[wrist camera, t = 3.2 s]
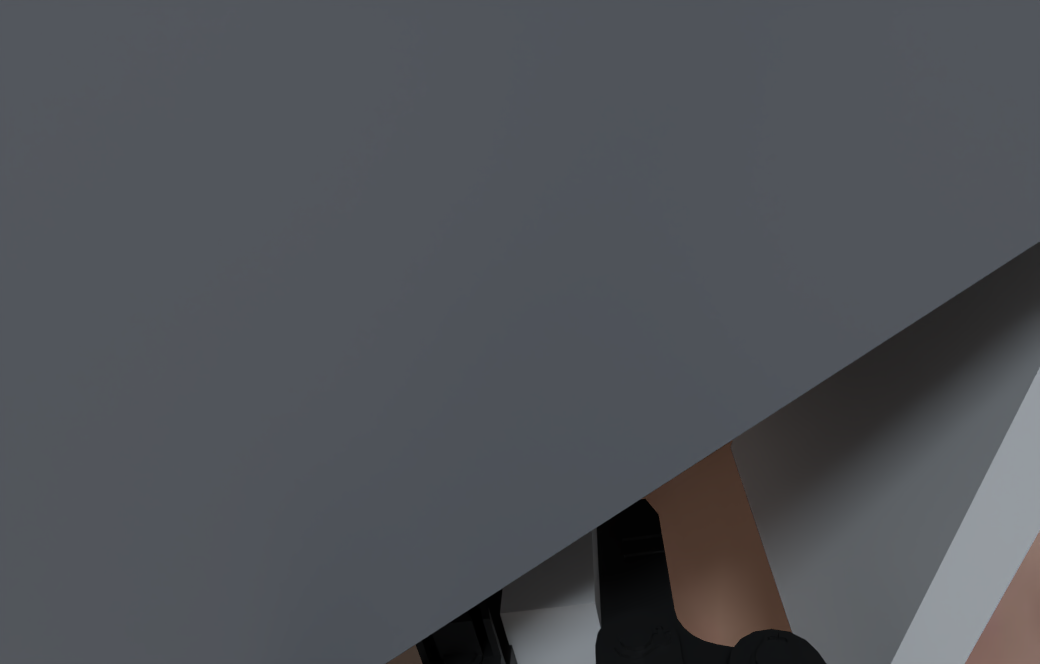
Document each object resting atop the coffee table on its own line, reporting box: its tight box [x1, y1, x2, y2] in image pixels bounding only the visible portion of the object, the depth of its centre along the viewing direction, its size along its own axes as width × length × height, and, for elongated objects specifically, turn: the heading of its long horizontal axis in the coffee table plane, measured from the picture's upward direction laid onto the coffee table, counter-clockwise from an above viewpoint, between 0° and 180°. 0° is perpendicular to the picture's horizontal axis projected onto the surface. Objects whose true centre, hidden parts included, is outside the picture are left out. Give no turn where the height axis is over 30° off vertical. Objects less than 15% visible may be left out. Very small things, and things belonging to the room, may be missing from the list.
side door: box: [731, 242, 1040, 664], centre depth 14 cm, size 11×2×9 cm, turn 172°
